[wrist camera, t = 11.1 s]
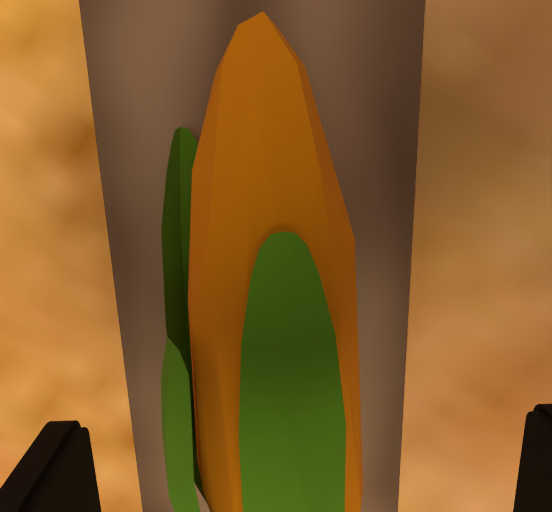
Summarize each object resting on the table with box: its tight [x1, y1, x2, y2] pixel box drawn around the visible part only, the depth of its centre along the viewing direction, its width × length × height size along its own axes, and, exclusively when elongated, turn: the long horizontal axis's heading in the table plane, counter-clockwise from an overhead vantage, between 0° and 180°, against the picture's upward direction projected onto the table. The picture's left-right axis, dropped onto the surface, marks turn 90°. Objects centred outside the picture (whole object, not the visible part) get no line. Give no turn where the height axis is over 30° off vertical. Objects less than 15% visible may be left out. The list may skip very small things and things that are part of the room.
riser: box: [79, 0, 425, 512], centre depth 22 cm, size 12×24×4 cm, turn 2°
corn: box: [161, 11, 363, 512], centre depth 16 cm, size 7×8×20 cm
